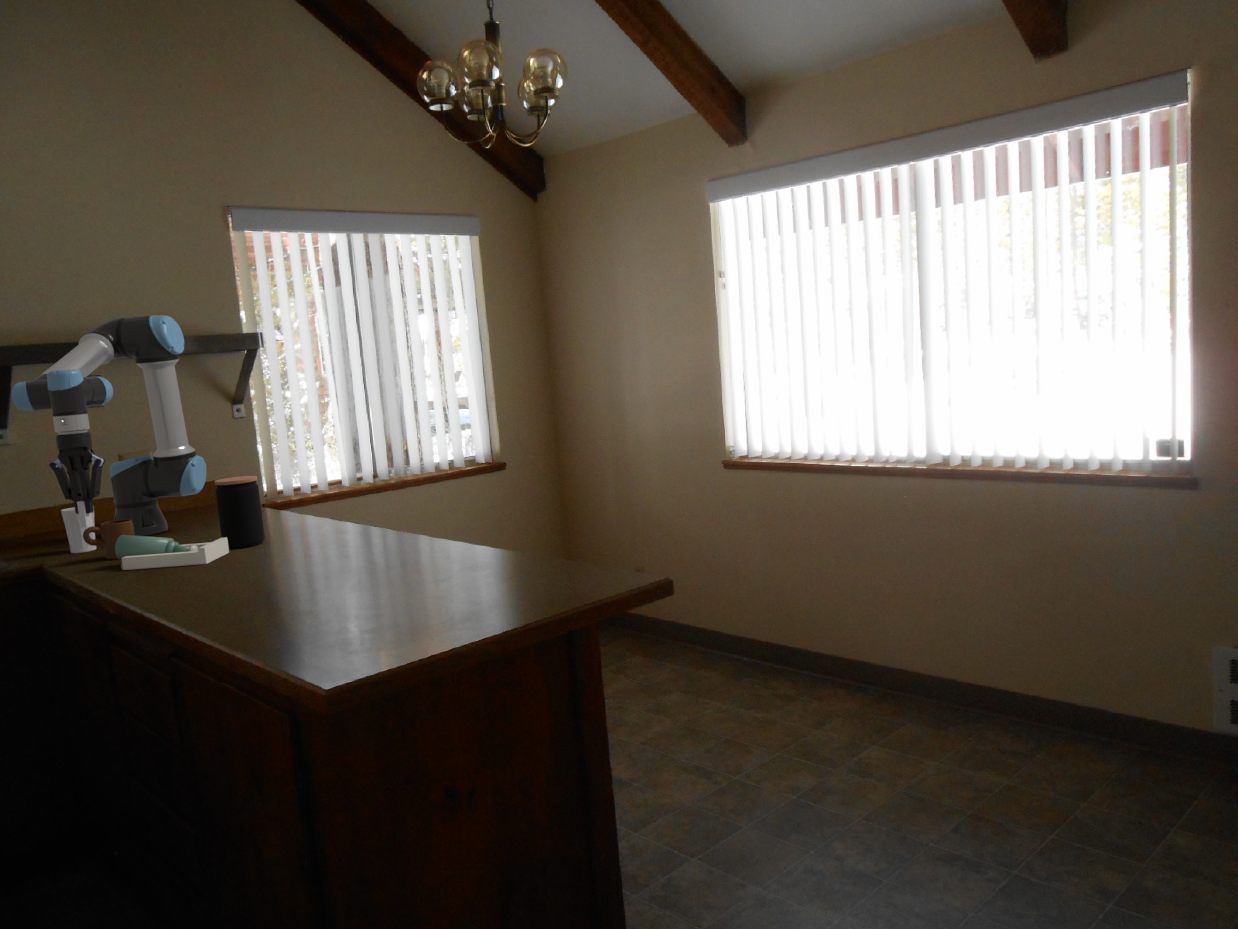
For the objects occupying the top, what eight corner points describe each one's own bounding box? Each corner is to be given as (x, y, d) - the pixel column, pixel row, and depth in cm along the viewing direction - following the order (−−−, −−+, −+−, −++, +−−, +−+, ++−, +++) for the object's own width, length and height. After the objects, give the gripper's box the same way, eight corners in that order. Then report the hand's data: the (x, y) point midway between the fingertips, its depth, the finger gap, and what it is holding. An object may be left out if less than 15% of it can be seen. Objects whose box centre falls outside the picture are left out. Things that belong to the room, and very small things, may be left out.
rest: (146, 558, 239) (144, 543, 238) (229, 552, 238) (227, 537, 238) (119, 570, 226) (116, 554, 225) (206, 563, 225) (204, 547, 225)
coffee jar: (272, 539, 252) (264, 474, 250) (253, 548, 242) (245, 480, 240) (235, 542, 253) (227, 477, 251) (214, 550, 243) (206, 482, 241)
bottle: (128, 532, 234) (200, 537, 234) (128, 555, 235) (200, 560, 235) (114, 537, 228) (189, 542, 228) (115, 561, 229) (189, 566, 229)
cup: (89, 552, 255) (83, 509, 254) (61, 554, 256) (54, 511, 254) (105, 546, 263) (99, 504, 262) (78, 548, 263) (72, 507, 262)
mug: (91, 564, 236) (85, 528, 235) (82, 561, 242) (77, 526, 241) (141, 555, 245) (136, 520, 243) (132, 552, 250) (127, 518, 249)
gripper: (37, 435, 225) (51, 531, 228) (90, 431, 225) (104, 527, 227) (56, 433, 232) (70, 525, 235) (107, 429, 232) (120, 521, 235)
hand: (86, 526), depth 231 cm, fingers closed
